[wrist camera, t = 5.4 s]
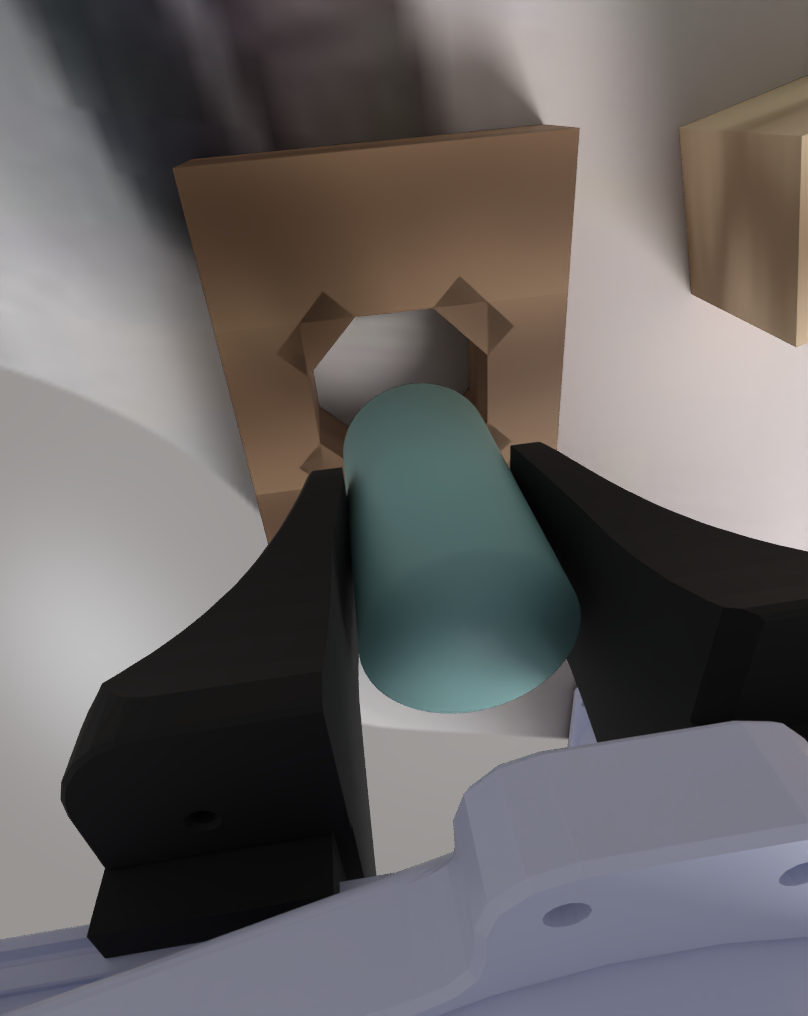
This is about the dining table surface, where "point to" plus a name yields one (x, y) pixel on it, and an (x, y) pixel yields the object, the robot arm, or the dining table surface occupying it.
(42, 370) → the dining table surface
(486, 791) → the robot arm
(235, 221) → the socket block
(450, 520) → the teal dowel
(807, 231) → the wooden cube block
